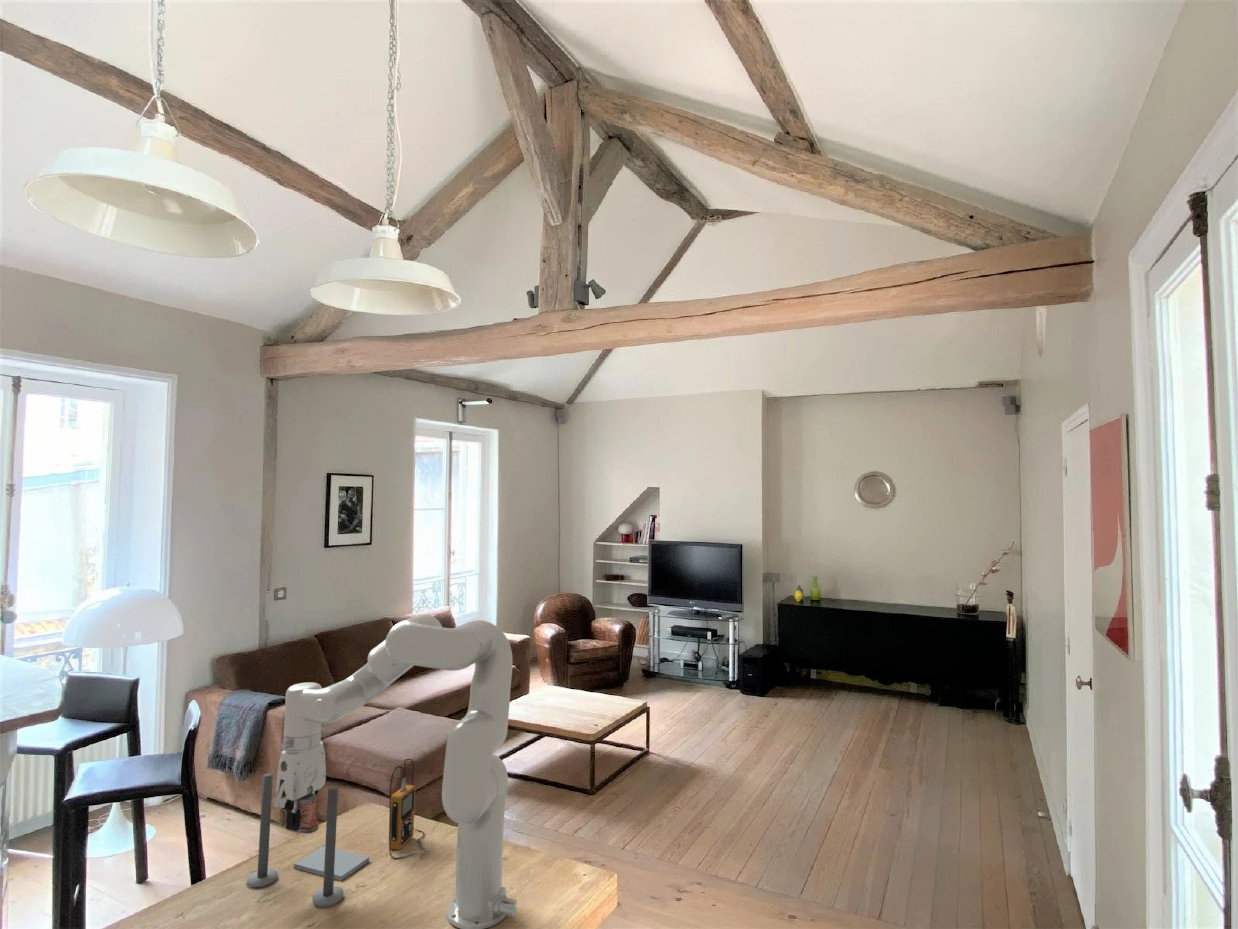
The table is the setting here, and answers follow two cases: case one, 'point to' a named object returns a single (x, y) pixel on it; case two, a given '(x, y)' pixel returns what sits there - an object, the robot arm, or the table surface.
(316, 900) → the post
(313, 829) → the lighter
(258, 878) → the far cord post
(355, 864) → the mat
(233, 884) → the table surface
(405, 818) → the multimeter
